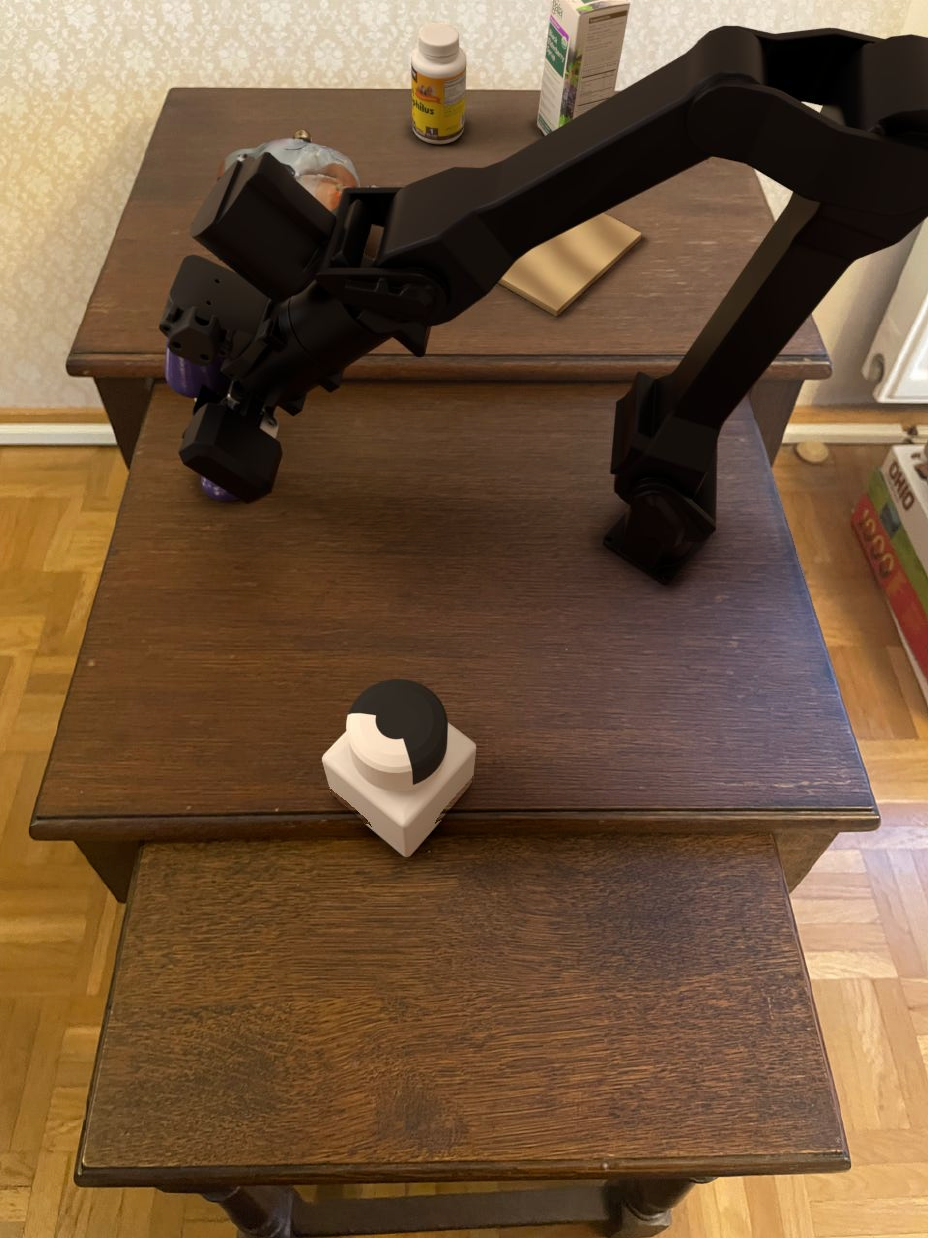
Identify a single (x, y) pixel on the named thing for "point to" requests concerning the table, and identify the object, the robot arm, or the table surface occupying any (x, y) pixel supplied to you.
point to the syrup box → (580, 58)
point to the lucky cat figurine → (306, 166)
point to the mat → (569, 262)
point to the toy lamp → (188, 383)
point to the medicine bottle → (399, 761)
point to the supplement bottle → (438, 84)
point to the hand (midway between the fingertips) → (194, 419)
